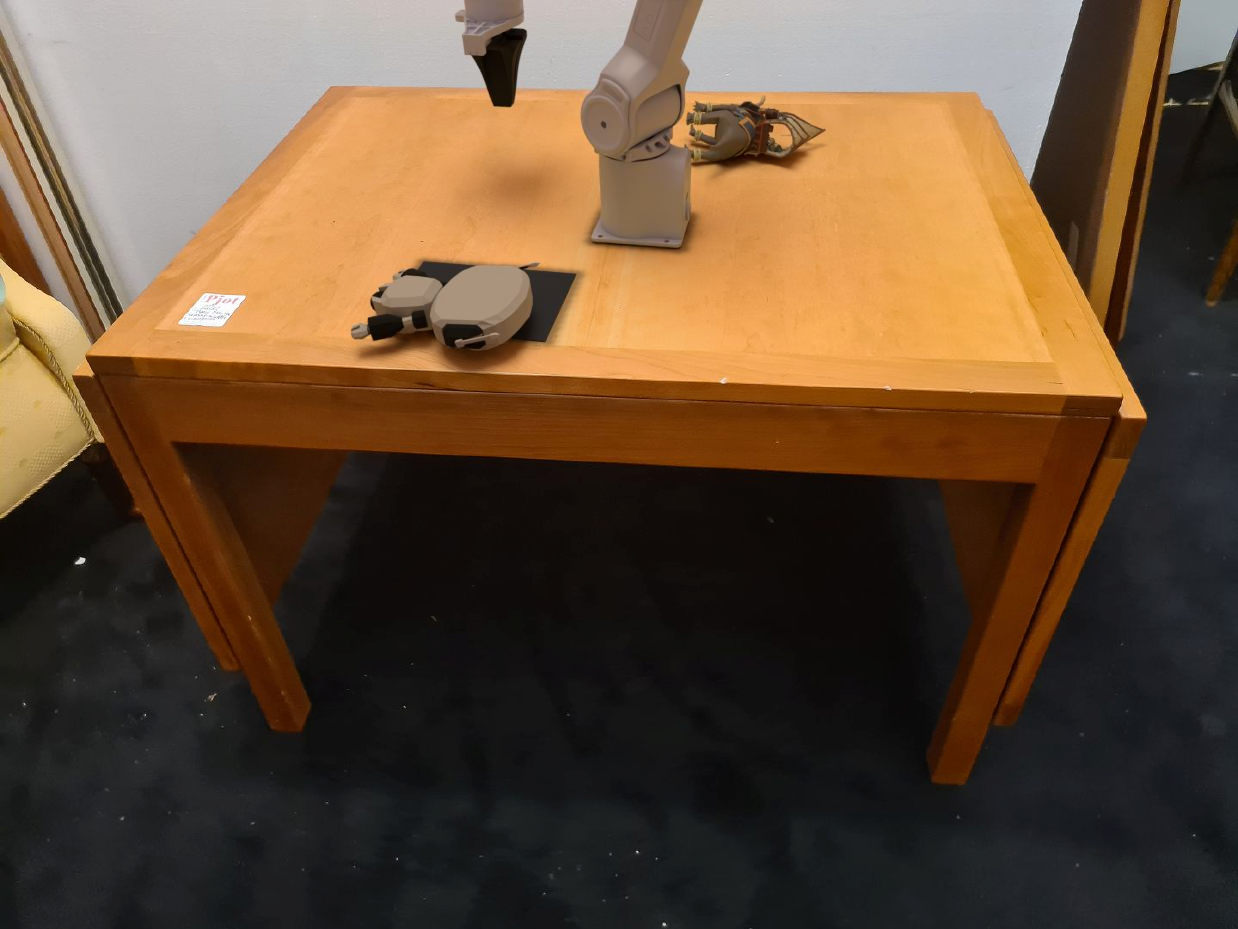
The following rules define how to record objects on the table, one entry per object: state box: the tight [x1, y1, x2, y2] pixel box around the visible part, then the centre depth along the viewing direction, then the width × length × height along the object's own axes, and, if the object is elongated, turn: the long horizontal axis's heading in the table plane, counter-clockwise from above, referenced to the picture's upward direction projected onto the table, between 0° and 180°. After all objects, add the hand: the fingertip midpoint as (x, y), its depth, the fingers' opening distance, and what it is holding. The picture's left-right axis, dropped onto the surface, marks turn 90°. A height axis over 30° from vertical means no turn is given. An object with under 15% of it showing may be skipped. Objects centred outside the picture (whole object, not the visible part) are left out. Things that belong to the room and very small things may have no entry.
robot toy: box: [350, 261, 541, 352], centre depth 78 cm, size 12×4×15 cm
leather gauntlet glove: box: [683, 95, 826, 163], centre depth 105 cm, size 20×6×17 cm
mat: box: [417, 260, 577, 343], centre depth 83 cm, size 16×12×1 cm
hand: (503, 104), depth 95 cm, fingers closed
